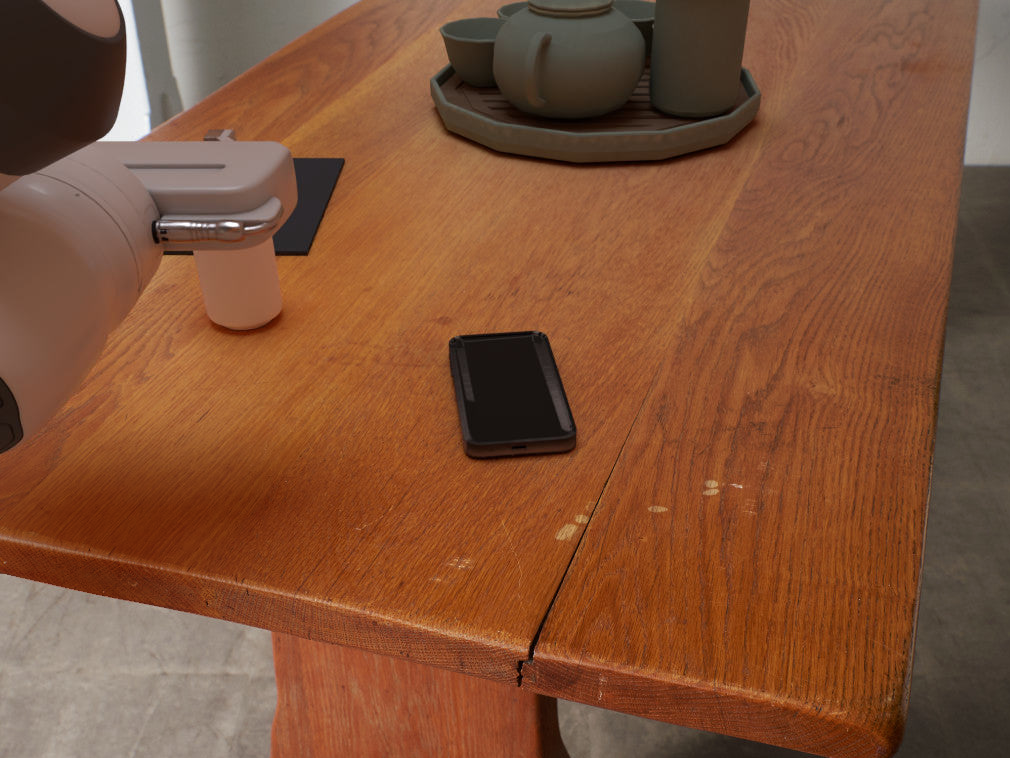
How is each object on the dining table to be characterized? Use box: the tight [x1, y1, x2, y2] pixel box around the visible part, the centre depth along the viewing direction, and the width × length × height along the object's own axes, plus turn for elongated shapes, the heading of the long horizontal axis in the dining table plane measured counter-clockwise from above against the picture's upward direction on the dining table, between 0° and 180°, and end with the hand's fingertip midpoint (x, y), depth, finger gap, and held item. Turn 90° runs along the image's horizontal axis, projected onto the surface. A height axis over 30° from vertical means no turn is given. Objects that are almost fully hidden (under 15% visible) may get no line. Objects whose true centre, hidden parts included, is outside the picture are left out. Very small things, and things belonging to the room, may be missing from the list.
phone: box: [448, 330, 578, 459], centre depth 74 cm, size 8×1×15 cm
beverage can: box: [193, 237, 283, 331], centre depth 80 cm, size 6×6×12 cm
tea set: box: [429, 0, 762, 164], centre depth 120 cm, size 40×40×16 cm
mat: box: [163, 157, 346, 256], centre depth 102 cm, size 18×24×1 cm
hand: (148, 142), depth 62 cm, fingers open, 8 cm apart
